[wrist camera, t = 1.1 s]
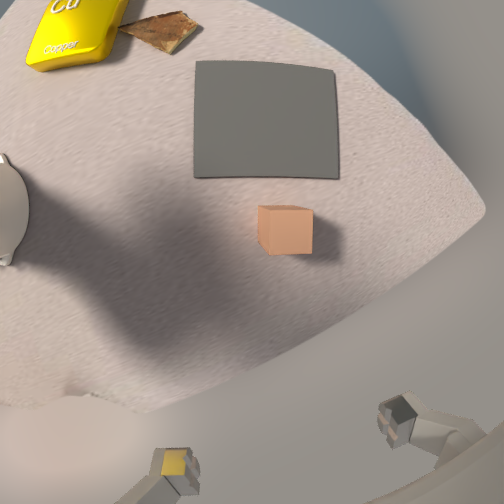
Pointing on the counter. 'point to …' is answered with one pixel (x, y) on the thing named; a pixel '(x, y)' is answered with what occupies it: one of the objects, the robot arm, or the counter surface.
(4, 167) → the robot arm
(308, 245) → the terracotta block
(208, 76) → the charcoal mat
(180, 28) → the shard
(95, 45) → the element tile
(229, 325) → the counter surface
